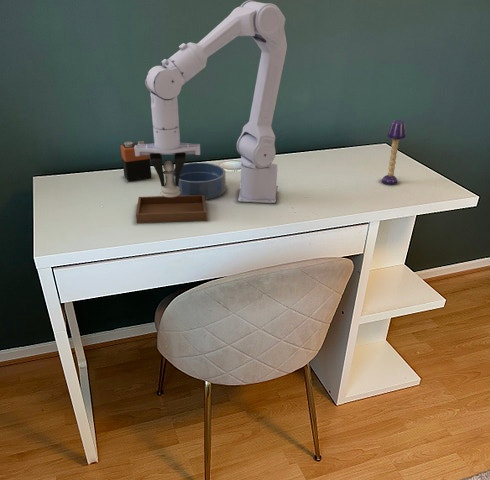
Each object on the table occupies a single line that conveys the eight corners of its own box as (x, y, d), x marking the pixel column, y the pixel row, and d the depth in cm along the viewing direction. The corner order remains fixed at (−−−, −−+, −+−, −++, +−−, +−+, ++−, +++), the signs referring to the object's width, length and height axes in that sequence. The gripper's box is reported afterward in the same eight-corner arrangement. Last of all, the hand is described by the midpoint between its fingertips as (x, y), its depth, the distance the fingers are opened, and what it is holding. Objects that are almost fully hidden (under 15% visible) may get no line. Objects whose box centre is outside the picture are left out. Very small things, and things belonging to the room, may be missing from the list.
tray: (204, 202, 127) (204, 194, 125) (206, 220, 118) (206, 212, 117) (139, 204, 125) (138, 196, 124) (136, 223, 116) (135, 214, 115)
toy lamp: (378, 183, 139) (388, 122, 130) (381, 177, 143) (391, 118, 134) (395, 186, 138) (407, 124, 129) (398, 180, 142) (409, 120, 132)
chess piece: (175, 188, 122) (173, 156, 117) (184, 195, 118) (182, 162, 114) (157, 192, 119) (154, 159, 115) (165, 199, 116) (163, 166, 112)
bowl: (227, 180, 139) (227, 163, 136) (222, 201, 127) (222, 183, 124) (176, 179, 140) (175, 161, 137) (167, 199, 128) (165, 181, 125)
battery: (124, 176, 140) (119, 141, 135) (147, 173, 143) (144, 138, 137) (127, 182, 137) (123, 146, 131) (152, 178, 140) (148, 143, 134)
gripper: (198, 120, 114) (200, 177, 122) (133, 121, 113) (139, 179, 120) (199, 129, 108) (201, 188, 116) (131, 130, 107) (137, 190, 114)
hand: (170, 184), depth 118 cm, fingers closed on chess piece, 3 cm apart
